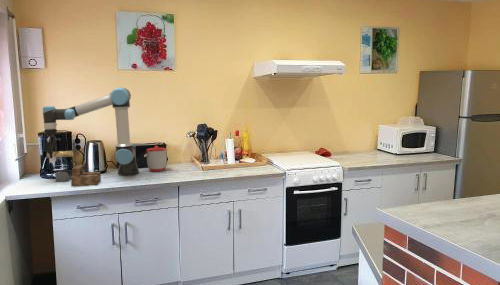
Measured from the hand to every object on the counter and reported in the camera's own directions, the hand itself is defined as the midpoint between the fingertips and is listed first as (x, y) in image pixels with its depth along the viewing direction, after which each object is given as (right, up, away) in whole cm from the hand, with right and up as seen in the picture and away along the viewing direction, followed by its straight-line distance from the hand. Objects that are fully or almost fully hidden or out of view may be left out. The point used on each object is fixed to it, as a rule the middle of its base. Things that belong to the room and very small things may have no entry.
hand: (53, 161), depth 257 cm
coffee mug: (-1, -10, +24) cm, 26 cm away
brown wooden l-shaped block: (+26, -14, -6) cm, 30 cm away
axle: (+5, +5, 0) cm, 7 cm away
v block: (+6, -13, +3) cm, 15 cm away
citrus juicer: (+63, -9, +34) cm, 72 cm away
